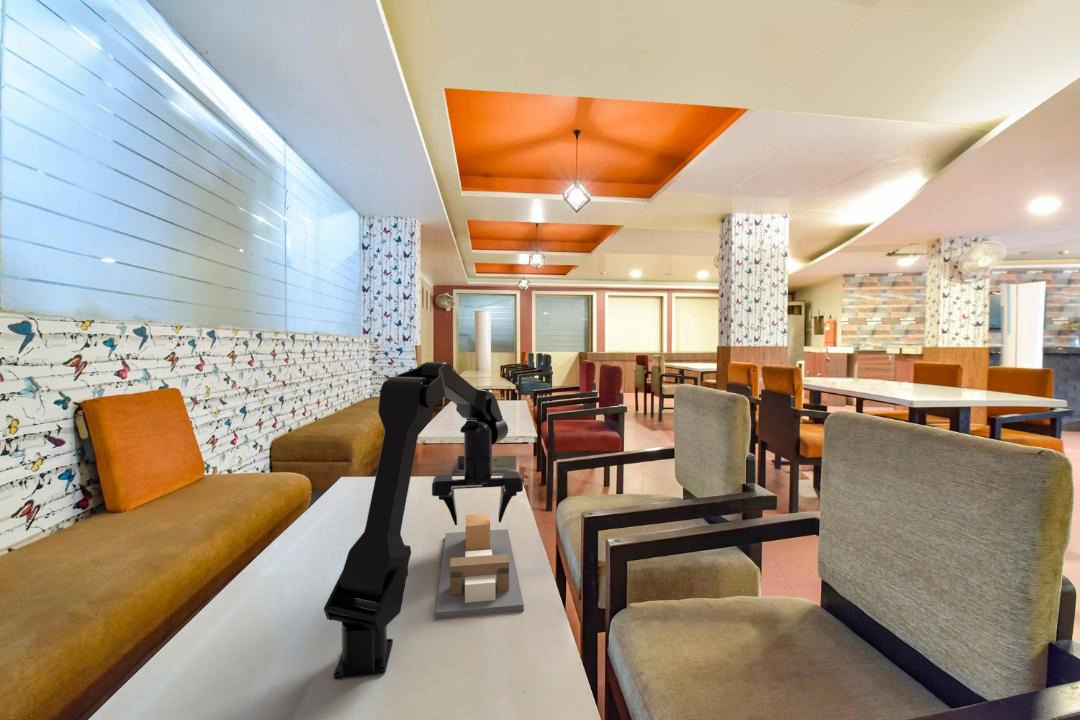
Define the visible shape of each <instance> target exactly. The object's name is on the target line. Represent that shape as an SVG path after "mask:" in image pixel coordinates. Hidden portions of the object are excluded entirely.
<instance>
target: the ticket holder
mask: <svg viewBox="0 0 1080 720" xmlns="http://www.w3.org/2000/svg"><path fill="white" fill-rule="evenodd" d="M442 552H443V554H442V562H441V569H440V577H439V585H438V594H437V602H436V610H435V614H436V615H435V619H436V620H437V619H446V618H448V619H449V618H458V617H469V616H478V615H489V614H492V615H493V614H501V613H502V614H503V613H513V612H522V611H523V612H524V611H525V610H524V609H525V606H524V605H525V604H524V600H523V596H522V595H523V594H522V590H521V586H520V585H521V584H520V581H519V577H518V571H517V568H516V567H517V566H516V561H515V558H514V553H513V547H512V543H511V538H510V534H509V529H508V528H507V529H506V528H505V529H490V549H476V550H466V531H459V532H446V533H445V536H444V544H443V551H442Z"/></svg>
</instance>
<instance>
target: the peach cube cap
mask: <svg viewBox="0 0 1080 720" xmlns="http://www.w3.org/2000/svg"><path fill="white" fill-rule="evenodd" d="M490 521H491V520H490V514H489V513H479V514H466V515H465V532H466V550H476V549H490V530H491V522H490Z"/></svg>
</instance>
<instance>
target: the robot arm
mask: <svg viewBox="0 0 1080 720" xmlns="http://www.w3.org/2000/svg"><path fill="white" fill-rule="evenodd" d="M443 398H447V399H448V400H449V401H451V402H452V403H454V405H456V408H455V410H456V412H457V413H458V414H459V415H460V417H461V418H462V419H465V420H466V421H465V423H464V424H463V425H462V426H461V428H460V433H461V434H462V433H463V435H464V437H463V438H464V439H463V440H464V442H463V445H464V446H463V449H464V450H463V455H458V457H457V471H459V472H463V474H464V475H463V477H464V478H460V479H459V478H458V479H457V478H456V479H453V474H437V475H434V477H433V479H432V483H431V496H432V497H438V500H440V501H444V503H445V505H446V507H447V508H448V511H449V514H450V516H451V518H452V521H453V523H454V526H458V511H457V507H456V506H457V504H456V499H455V498H456V497H455V490H458V489H459V490H460V489H461V490H462V489H478V488H479V489H481V488H496V487H497V488H500V498H499V506H498V515H497V516H498V518H497V519H498V523H501V522H502V520H503V517H504V514H505V513H506V509H507V507H508V505H509V503H510V501H511V499H513V497H516V496H518V495H517V494H518V493H522V492H524V480H523V478H522V475H521V474H520V472H518V471H511V472H510V471H509V472H508V471H506V472H505V471H504V472H502V477H492V445H495V444H497V443H498V442H500V441H502V440H503V441H504V439H505V438H507V436H508V433H509V427H508V424H507V422H506V420H504V418H503V415H502V412H501V409H500V406H499V403H498V400H497V398H496V396H495V394H494V393H493V392H492V391H489V390H486V389H480V388H476V387H474V386H473V385H472V384H470V383H469V382H468V381H467V380H466V379H465V378H464V377H462V375H460V374H459V373H458V372H456V371H455V370H454V369H453V367H452V365H451V364H449V363H448V362H444V361H443V362H442V361H436V362H435V361H425V362H424V363H421V364H420V365H418V366H417V367H415V368H413V369H412V368H411V369H410V370H407V371H405V372H401V373H399V374H397V375H395V376H392V377H391V376H390V377H389V378H388V379H387V380H385V381H383V383H382V385H381V387H380V392H379V399H378V400H379V401H378V408H377V409H378V411H377V412H378V415H379V418H380V421H381V424H382V427H383V429H384V435H383V437H382V438H383V439H382V445H381V449H380V452H379V453H380V454H379V458H378V463H377V468H376V473H375V479H374V484H373V488H372V494H371V498H370V503H369V508H368V513H367V519H366V522H365V523H366V524H365V527H364V530H363V532H362V533H361V535H360V537H358V539H357V540H356V541H355V543H354V544H353V545H352V546H351V548H350V549H348V550H349V551H348V554H347V556H346V559H345V562H344V566H343V569H342V571H341V573H340V576H339V577H338V579H337V581H336V583H335V585H334V587H333V589H332V590H331V593H330V595H329V597H328V599H327V601H326V603H325V605H324V607H323V613H324V614H325V616H326V620H327V621H328V620H329V621H336V622H341V648H342V649H341V655H340V658H339V660H338V662H337V664H336V667H335V670H334V672H333V679H334V680H340V679H348V678H350V679H351V678H358V677H367V676H368V677H369V676H377V675H383V674H385V673H386V672H387V668H388V664H389V660H390V655H391V652H392V649H393V644H394V639H393V638H388V634H387V632H388V630H387V628H388V627H387V626H388V625H389V624H390V623H391V622H392V621H393V620H394V619H395V618H396V617H397V616H398V615H399V614H400V613H401V610H402V605H403V600H404V595H405V589H406V584H407V583H406V582H407V577H408V576H409V562H410V559H411V555H412V548H411V546H410V545H408V544H405V543H404V540H403V538H402V535H401V533H402V527H403V520H404V515H405V508H406V503H407V498H408V492H409V486H410V482H411V476H412V471H413V464H414V459H415V455H416V449H417V442H418V438H419V435H420V434H421V432H422V431H423V430H424V429H425V428H426V427H427V425H428V424H429V423H430V422H431V420H432V418H433V415H434V411H435V407H436V405H438V403H439V402H441V400H443Z"/></svg>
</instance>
